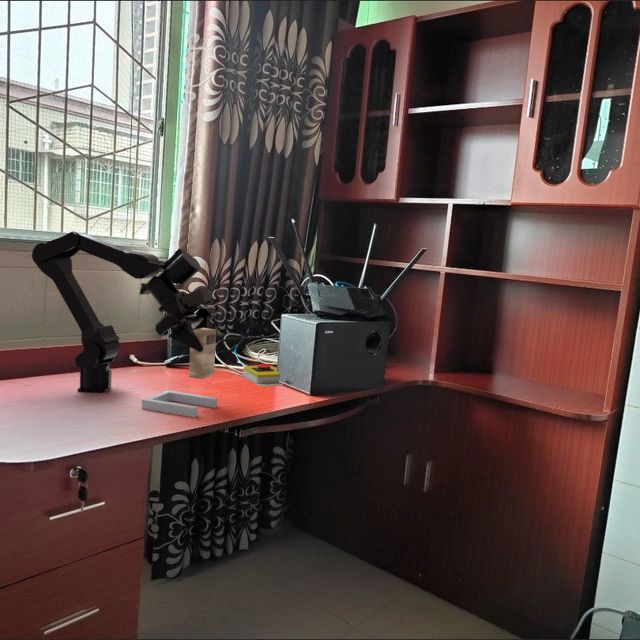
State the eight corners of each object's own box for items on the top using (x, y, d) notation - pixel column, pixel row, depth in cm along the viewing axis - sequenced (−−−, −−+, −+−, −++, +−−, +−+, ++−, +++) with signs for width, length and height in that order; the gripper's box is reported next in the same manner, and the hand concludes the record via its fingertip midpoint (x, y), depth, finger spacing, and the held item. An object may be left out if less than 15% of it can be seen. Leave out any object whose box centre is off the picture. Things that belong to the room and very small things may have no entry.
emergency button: (269, 360, 185) (291, 371, 172) (268, 374, 185) (290, 386, 172) (240, 361, 180) (260, 372, 167) (239, 376, 181) (260, 388, 168)
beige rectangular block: (188, 377, 143) (190, 330, 141) (201, 373, 148) (203, 327, 147) (204, 379, 141) (206, 332, 140) (216, 375, 147) (218, 329, 145)
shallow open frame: (141, 408, 139) (141, 399, 139) (167, 398, 149) (167, 390, 149) (194, 417, 135) (194, 408, 135) (216, 406, 145) (217, 398, 145)
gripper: (168, 276, 134) (211, 332, 132) (211, 274, 152) (249, 323, 150) (137, 308, 138) (177, 363, 136) (182, 302, 155) (218, 351, 153)
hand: (208, 349), depth 144 cm, fingers closed on beige rectangular block, 5 cm apart
